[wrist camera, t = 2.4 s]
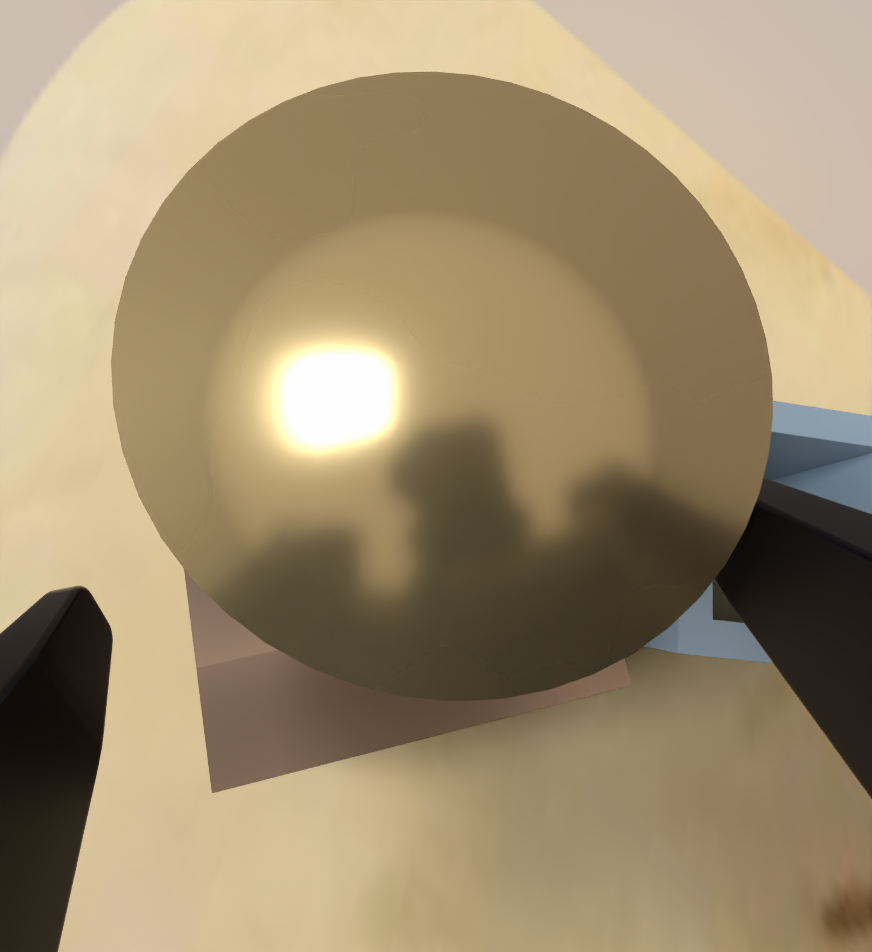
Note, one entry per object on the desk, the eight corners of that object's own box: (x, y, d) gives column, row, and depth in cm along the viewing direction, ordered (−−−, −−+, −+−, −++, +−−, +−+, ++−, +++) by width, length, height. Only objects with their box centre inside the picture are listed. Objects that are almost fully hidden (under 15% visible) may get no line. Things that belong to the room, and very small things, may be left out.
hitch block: (562, 660, 17) (631, 685, 12) (256, 735, 15) (211, 792, 11) (496, 381, 18) (536, 315, 14) (213, 425, 17) (159, 367, 12)
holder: (777, 655, 18) (934, 680, 13) (588, 635, 17) (678, 653, 12) (772, 466, 19) (913, 422, 14) (598, 441, 18) (681, 386, 13)
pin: (475, 570, 17) (889, 495, 3) (356, 635, 16) (302, 858, 3) (415, 456, 17) (574, 5, 4) (297, 513, 17) (2, 189, 3)
